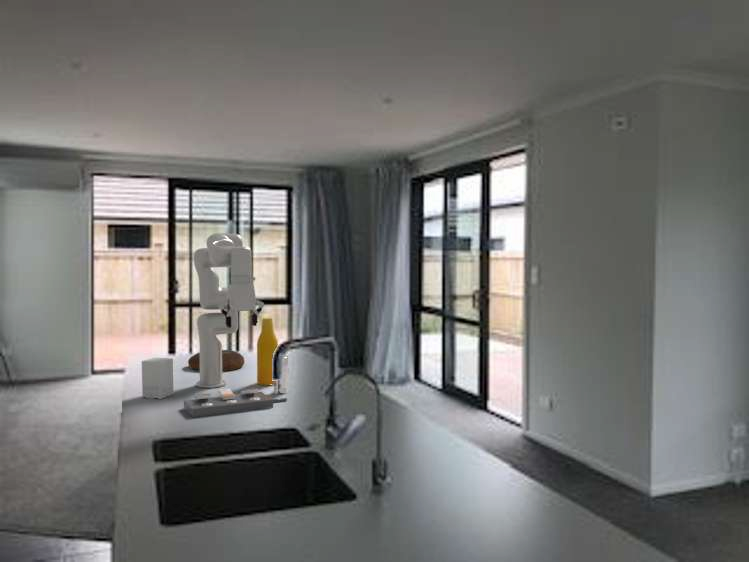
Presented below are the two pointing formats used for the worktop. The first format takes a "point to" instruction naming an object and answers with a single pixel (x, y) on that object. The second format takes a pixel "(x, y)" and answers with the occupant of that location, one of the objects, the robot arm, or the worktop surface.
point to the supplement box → (157, 378)
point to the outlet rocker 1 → (226, 394)
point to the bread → (229, 361)
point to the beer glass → (282, 378)
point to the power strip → (229, 404)
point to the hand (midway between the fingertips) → (241, 326)
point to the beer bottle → (266, 352)
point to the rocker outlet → (203, 396)
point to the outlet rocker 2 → (249, 390)
